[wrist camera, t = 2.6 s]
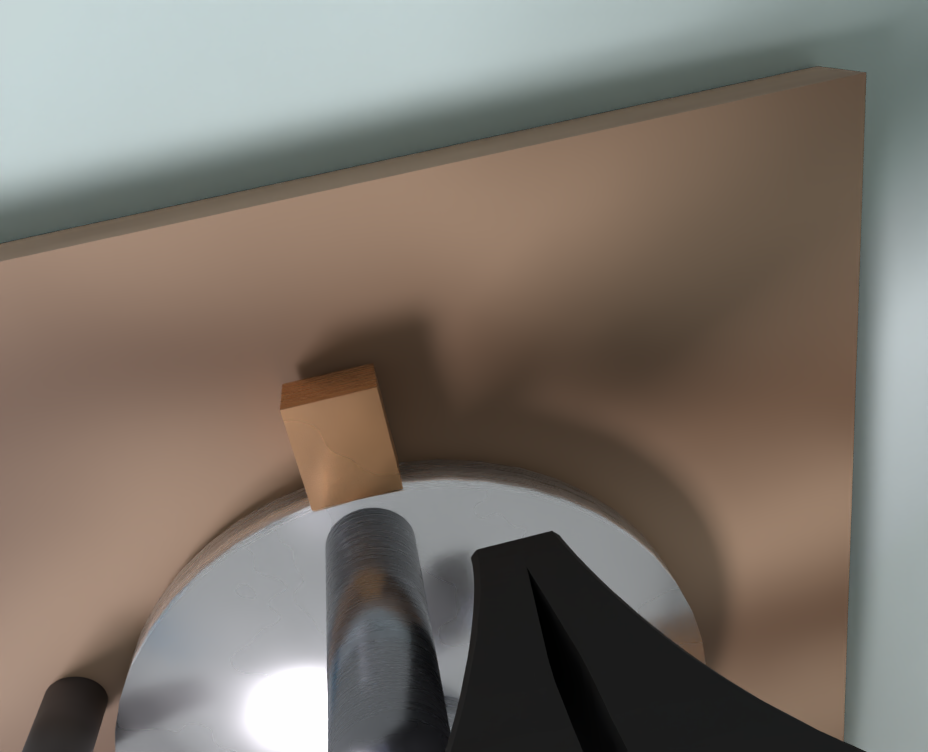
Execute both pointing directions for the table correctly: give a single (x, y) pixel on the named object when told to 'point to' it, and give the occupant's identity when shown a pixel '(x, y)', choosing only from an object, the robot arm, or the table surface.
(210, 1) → the table surface
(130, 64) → the table surface
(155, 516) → the base board
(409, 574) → the flange
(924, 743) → the table surface
